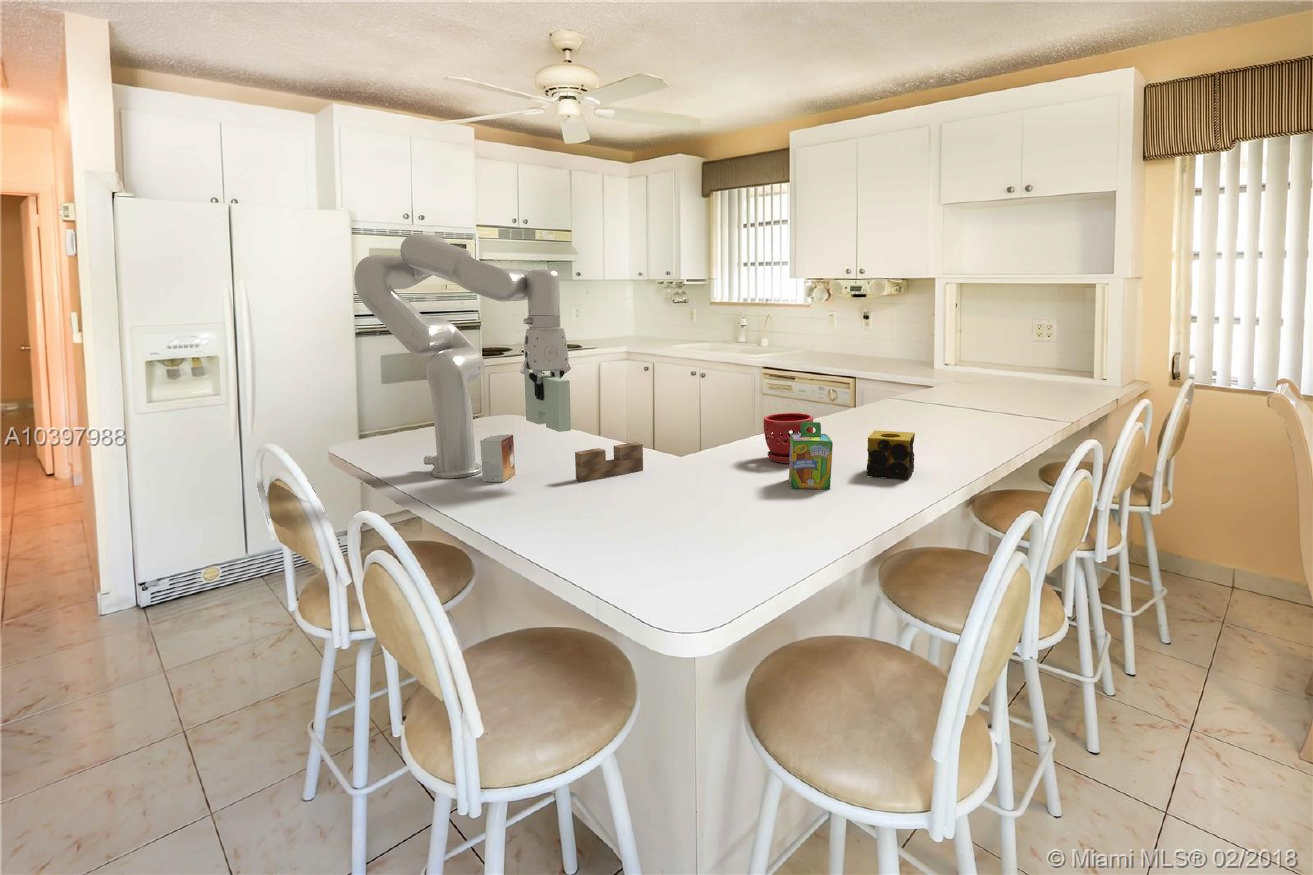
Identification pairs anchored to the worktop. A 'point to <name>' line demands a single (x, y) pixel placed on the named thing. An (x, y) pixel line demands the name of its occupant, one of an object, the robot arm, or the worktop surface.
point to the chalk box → (810, 458)
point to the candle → (890, 454)
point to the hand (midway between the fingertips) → (546, 398)
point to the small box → (497, 458)
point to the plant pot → (783, 433)
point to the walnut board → (608, 462)
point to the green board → (549, 403)
